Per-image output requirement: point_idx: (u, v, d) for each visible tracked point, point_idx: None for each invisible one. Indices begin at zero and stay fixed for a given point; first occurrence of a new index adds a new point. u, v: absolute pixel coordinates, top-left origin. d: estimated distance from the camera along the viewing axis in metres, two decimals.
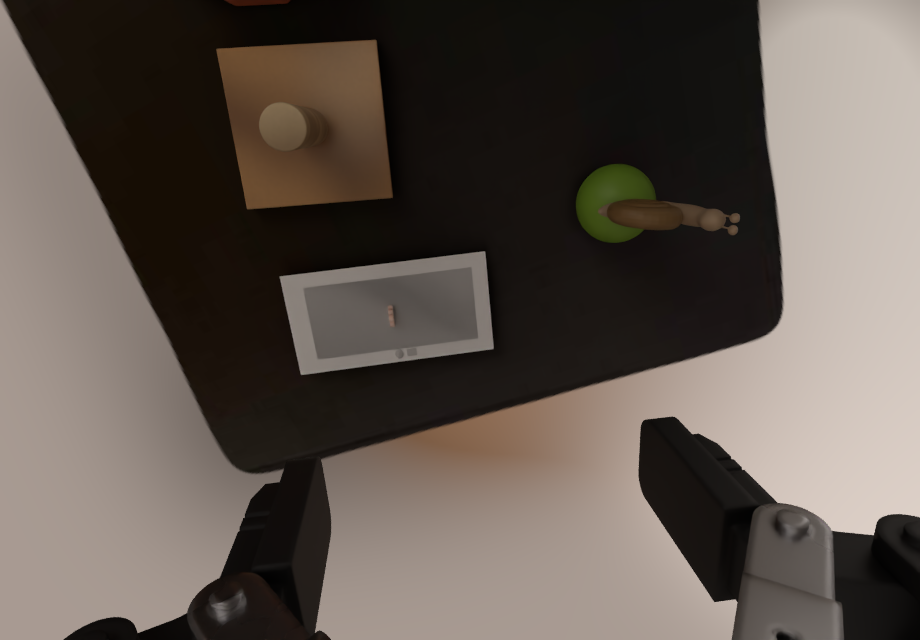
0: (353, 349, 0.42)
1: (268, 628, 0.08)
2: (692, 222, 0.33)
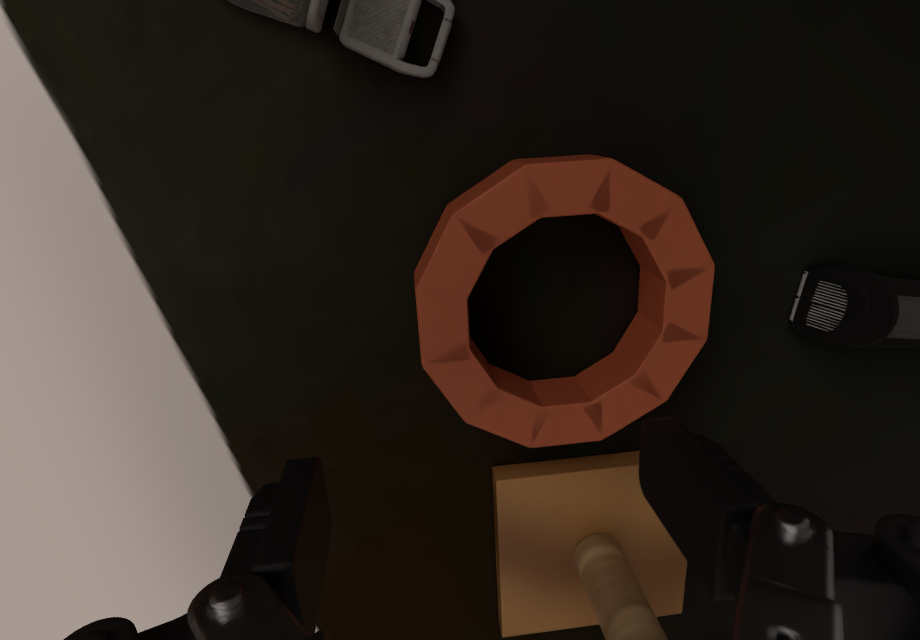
0: None
1: (268, 628, 0.08)
2: None
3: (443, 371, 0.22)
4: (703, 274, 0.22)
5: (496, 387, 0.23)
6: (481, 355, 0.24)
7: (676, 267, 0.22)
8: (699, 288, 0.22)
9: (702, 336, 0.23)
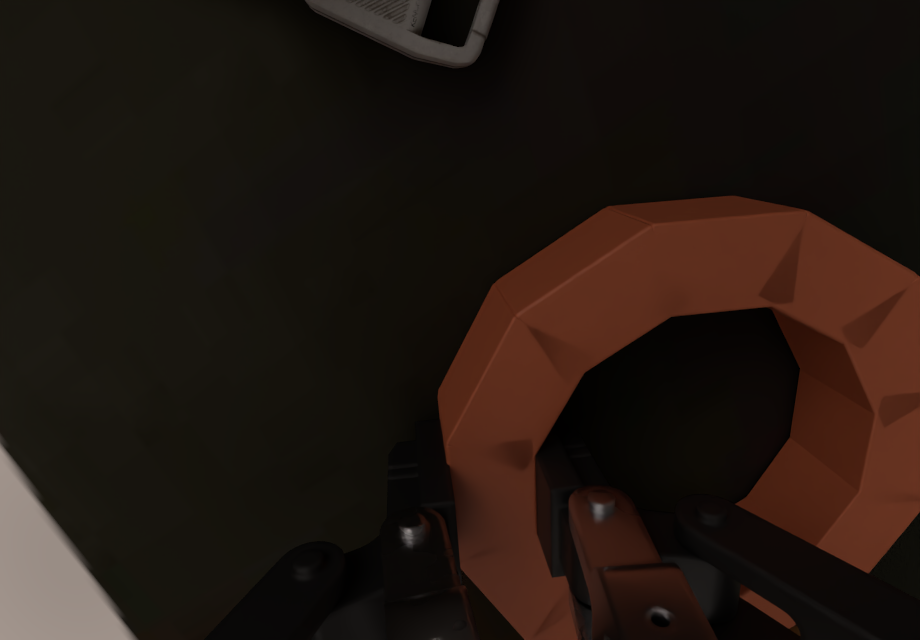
0: None
1: (432, 564, 0.09)
2: None
3: (492, 568, 0.13)
4: None
5: None
6: None
7: (895, 391, 0.13)
8: None
9: None
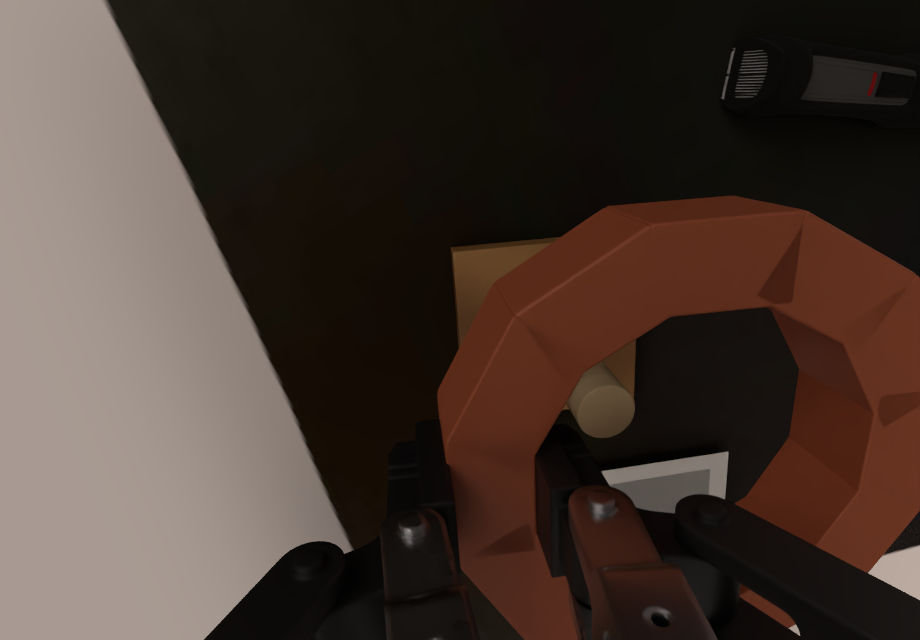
0: None
1: (432, 564, 0.09)
2: None
3: (491, 568, 0.13)
4: None
5: None
6: None
7: (894, 391, 0.13)
8: None
9: None
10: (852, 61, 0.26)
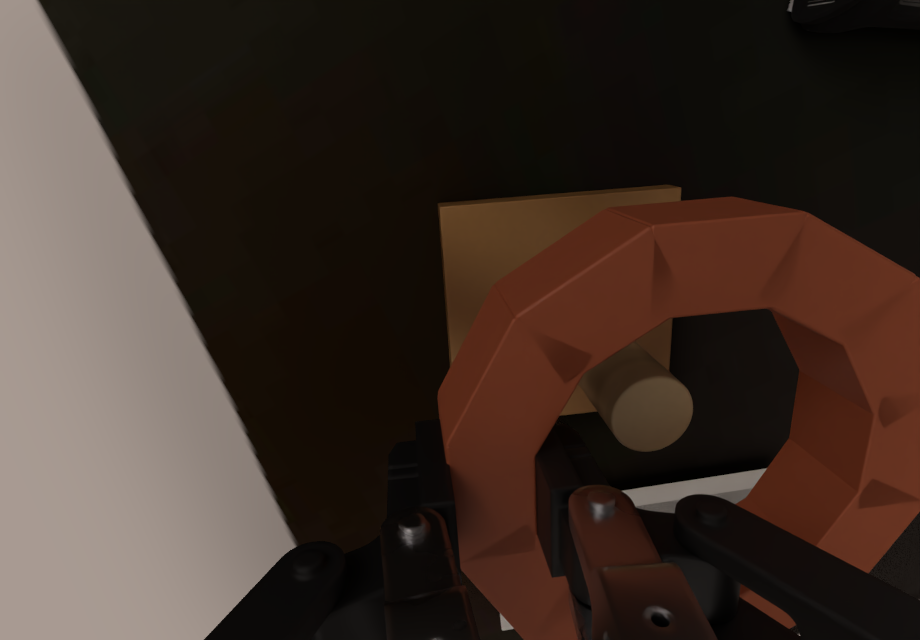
0: None
1: (432, 564, 0.09)
2: None
3: (492, 569, 0.13)
4: None
5: None
6: None
7: (894, 392, 0.13)
8: None
9: None
10: None
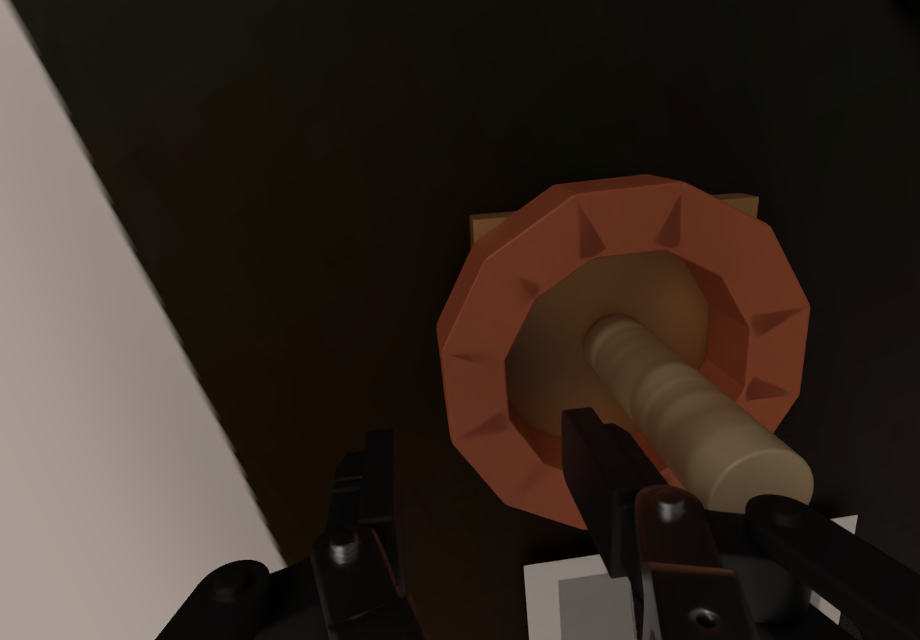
0: None
1: (371, 579, 0.09)
2: None
3: (477, 446, 0.18)
4: (796, 317, 0.18)
5: (542, 462, 0.19)
6: (520, 418, 0.20)
7: (762, 311, 0.18)
8: (790, 334, 0.18)
9: (793, 391, 0.19)
10: None
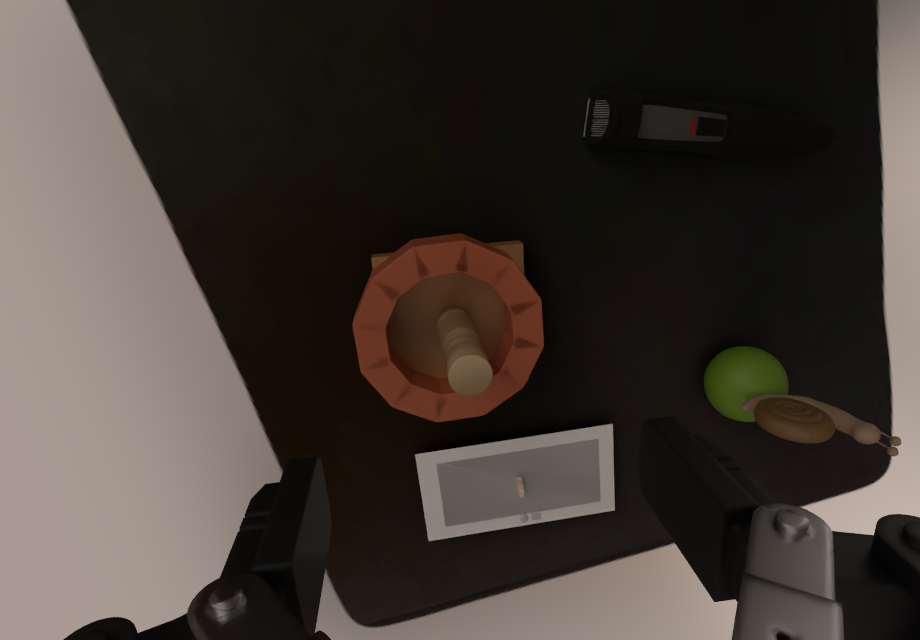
0: (480, 516, 0.43)
1: (268, 628, 0.08)
2: (842, 429, 0.34)
3: (374, 374, 0.35)
4: (534, 305, 0.35)
5: (410, 383, 0.36)
6: (403, 363, 0.38)
7: (516, 302, 0.35)
8: (533, 314, 0.35)
9: (540, 344, 0.36)
10: (675, 108, 0.34)
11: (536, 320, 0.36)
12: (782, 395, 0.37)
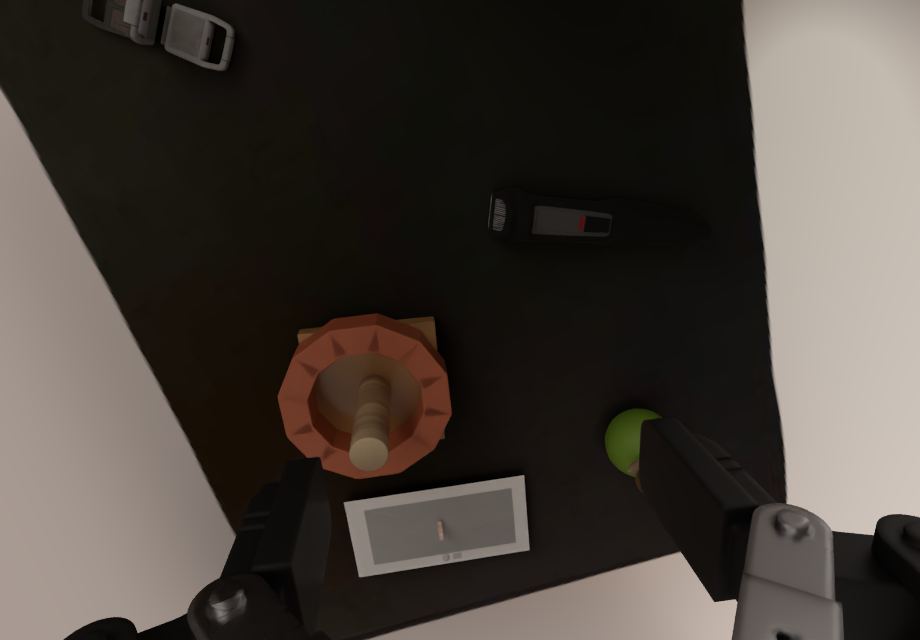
0: (405, 555, 0.48)
1: (268, 628, 0.08)
2: None
3: (299, 438, 0.40)
4: (441, 379, 0.40)
5: (331, 446, 0.40)
6: (328, 425, 0.42)
7: (424, 377, 0.39)
8: (440, 387, 0.40)
9: (448, 412, 0.40)
10: (564, 209, 0.38)
11: (443, 392, 0.40)
12: None
